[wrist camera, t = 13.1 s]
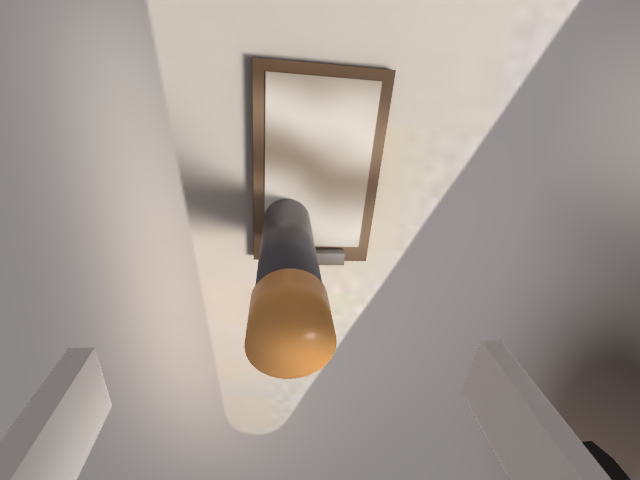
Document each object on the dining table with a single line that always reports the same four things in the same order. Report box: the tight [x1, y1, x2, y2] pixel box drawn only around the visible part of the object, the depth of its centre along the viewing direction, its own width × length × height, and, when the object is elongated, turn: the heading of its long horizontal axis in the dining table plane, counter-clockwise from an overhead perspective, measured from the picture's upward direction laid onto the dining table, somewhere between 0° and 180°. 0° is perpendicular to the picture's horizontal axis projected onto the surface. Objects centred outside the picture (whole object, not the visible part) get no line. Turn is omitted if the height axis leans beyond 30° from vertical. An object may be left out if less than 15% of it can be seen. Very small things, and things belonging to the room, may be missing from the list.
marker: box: [245, 199, 336, 379], centre depth 20 cm, size 4×4×13 cm
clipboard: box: [252, 57, 396, 265], centre depth 24 cm, size 14×9×2 cm, turn 175°
